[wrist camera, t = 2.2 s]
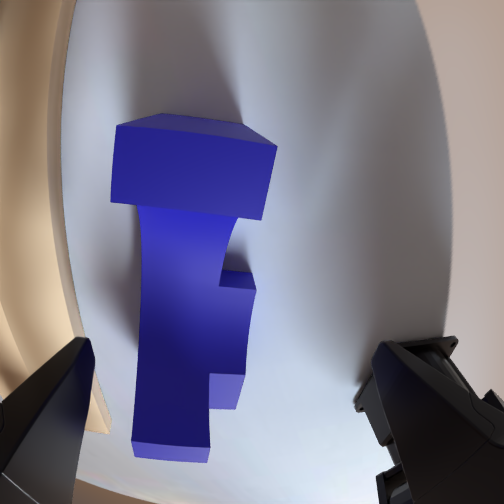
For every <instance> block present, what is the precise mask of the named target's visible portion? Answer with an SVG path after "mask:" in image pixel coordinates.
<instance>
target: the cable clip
mask: <svg viewBox="0 0 504 504" xmlns="http://www.w3.org/2000/svg"><path fill="white" fill-rule="evenodd" d="M277 147H278V146H276V145H275V144H273V143H272V142H270V141H269V140H267V139H266V138H264V137H263V136H261V135H260V134H258V133H256V132H255V131H253V130H252V129H250V128H249V127H247V126H245V125H244V124H238V123H232V122H226V121H219V120H213V119H205V118H198V117H190V116H182V115H173V114H163V113H161V114H157V115H153V116H149V117H145V118H141V119H137V120H133V121H130V122H126V123H123V124H119V125H116V134H115V143H114V154H113V166H112V180H111V200H110V202H113V203H122V204H132V205H136V206H137V209H138V214H139V220H140V229H141V249H142V276H141V308H140V329H139V347H138V363H137V378H136V391H135V404H134V416H133V427H132V437H131V443H132V447H133V451H134V456H135V457H140V458H148V459H157V460H167V461H180V462H198V463H207V461H208V456H209V452H210V431H209V409H234V410H235V409H236V406H237V403H238V399H239V396H240V392H241V389H242V385H243V382H244V378H245V373H246V356H247V344H248V335H249V327H250V321H251V314H252V309H253V304H254V299H255V294H256V286H255V282H254V279H253V275H252V273H248V272H239V271H229V270H222V266H223V261H224V257H225V253H226V249H227V246H228V242H229V239H230V236H231V233H232V230H233V228H234V225H235V223H236V221H237V219H238V217H239V218H246V219H254V220H261V219H262V215H263V210H264V206H265V201H266V197H267V192H268V188H269V183H270V179H271V174H272V169H273V165H274V160H275V156H276V151H277Z"/></svg>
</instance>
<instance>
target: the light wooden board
mask: <svg viewBox="0 0 504 504" xmlns="http://www.w3.org/2000/svg"><path fill="white" fill-rule="evenodd" d="M75 4H76V0H1V1H0V394H1V396H2V398H3V399H5V398H6V397H7V396H8V395H9V394H10V393H11V392H13V391H14V390H15V389H16V388H17V387H18V386H19V385H20V384H21V383H23V382H24V381H25V380H26V379H27V378H28V377H29V376H30V375H32V374H33V373H34V372H35V371H36V370H37V369H38V368H40V367H41V366H42V365H43V364H44V363H45V362H47V361H48V360H49V359H50V358H51V357H52V356H53V355H55V354H56V353H57V352H58V351H59V350H61V349H62V348H63V347H64V346H65V345H66V344H68V343H69V342H70V341H71V340H72V339H74V338H75V337H77V336H79V337H85V334H84V330H83V326H82V322H81V317H80V313H79V309H78V304H77V299H76V294H75V289H74V284H73V278H72V272H71V266H70V260H69V253H68V246H67V238H66V230H65V221H64V210H63V198H62V181H61V109H62V93H63V81H64V71H65V62H66V54H67V47H68V41H69V34H70V29H71V23H72V18H73V13H74V8H75ZM111 423H112V419H111V417H110V414H109V411H108V409H107V406H106V403H105V400H104V397H103V394H102V392H101V389H100V386H99V382H98V379H97V376H96V373H95V370H94V375H93V383H92V390H91V398H90V406H89V411H88V416H87V421H86V425H85V430H86V431H92V432H98V433H104V434H110V428H111Z"/></svg>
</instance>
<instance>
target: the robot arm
mask: <svg viewBox="0 0 504 504" xmlns="http://www.w3.org/2000/svg"><path fill="white" fill-rule="evenodd" d="M457 344H458V339H457V338H456V337H455V336H449V337H442V338H435V339H428V340H421V341H413V342H405V343H397V344H396V343H395V342H393V341H382V342H380V343H379V345H378V347H377V349H376V351H375V353H374V355H373V357H372V360H371V366H372V370H373V374H372V376H371V377H370V379H369V381H368V383H367V385H366V387H365V388H364V390H363V392H362V394H361V395H360V397H359V399H358V401H357V402H356V404H355V406H354V407H355V410H356V412H358V413H360V412H365V413H366V415H367V417H368V420H369V422H370V424H371V426H372V428H373V431H374V433H375V435H376V438H377V440H378V442H379V444H380V445H381V446H382V447H384V446H386V447H387V449H388V451H389V453H390V456H391V458H392V460H393V462H394V465H395V466H394V467H392V468H391V469H389V470H387V471H384V472H382V473H380V474H378V475H377V476H376V482H377V491H378V498H379V504H504V401H503V400H502V399H501V398H500V397H499V396H498V395H497V394H496V393H495V392H494V391H493V390H492V389H490V390H489V391H488V392H487V393H486V394H485V397H484V398H483V399H482V400H481V399H479V398H478V396H477V395H476V394H475V392H474V390H473V389H472V388H471V386H470V385H469V383H468V382H467V381H466V379H465V378H464V377H463V375H462V374H461V372H460V371H459V370H458V368H457V367H456V366H455V364H454V363H453V361H452V360H451V359H450V355H451V354H452V352H453V350H454V349H455V347H456V345H457ZM94 369H95V356H94V352H93V349H92V345H91V341H90V339H89V338H87V337H79V336H77V337H75V338H74V339H72V340H71V341H70V342H69V343H68V344H66V345H65V346H64V347H63V348H62V349H61V350H59V351H58V352H57V353H56V354H55V355H53V356H52V357H51V358H50V359H49V360H48V361H47V362H45V363H44V364H43V365H42V366H41V367H40V368H38V369H37V370H36V371H35V372H34V373H33V374H32V375H30V376H29V377H28V378H27V379H26V380H25V381H24V382H23V383H21V384H20V385H19V386H18V387H17V388H16V389H15V390H14V391H13V392H11V393H10V394H9V395H8V396H7V397H6V398H5V399H4V400H3V401H2V403H0V504H72V497H73V490H74V483H75V477H76V471H77V465H78V460H79V454H80V449H81V444H82V439H83V434H84V430H85V425H86V421H87V416H88V411H89V406H90V398H91V390H92V383H93V375H94Z"/></svg>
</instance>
